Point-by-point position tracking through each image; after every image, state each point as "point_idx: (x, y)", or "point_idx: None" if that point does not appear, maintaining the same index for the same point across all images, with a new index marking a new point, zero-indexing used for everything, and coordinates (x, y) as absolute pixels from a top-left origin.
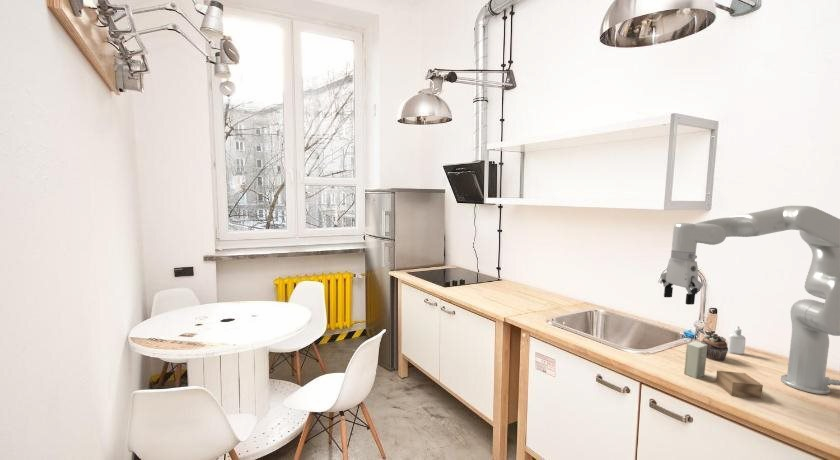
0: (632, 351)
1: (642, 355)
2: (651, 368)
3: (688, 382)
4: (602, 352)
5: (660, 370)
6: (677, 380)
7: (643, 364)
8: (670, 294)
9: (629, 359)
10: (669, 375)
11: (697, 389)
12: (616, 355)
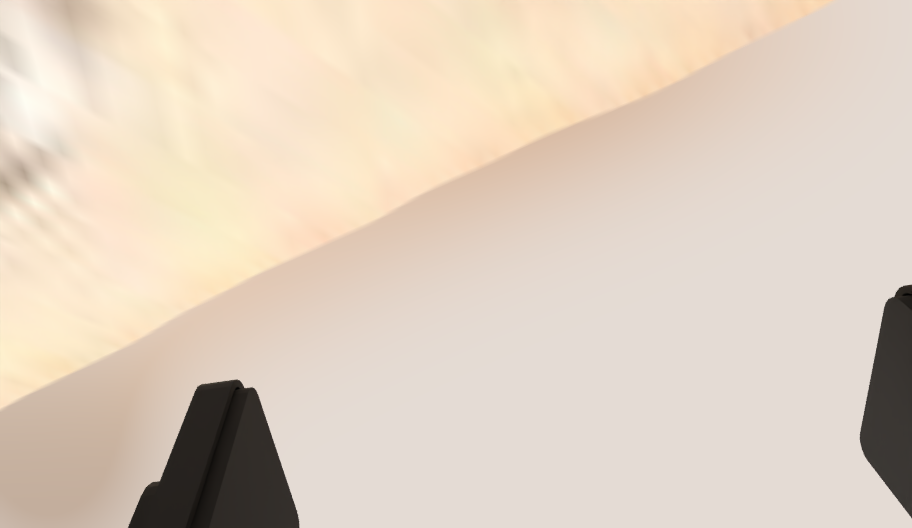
0: (48, 84)
1: (128, 47)
2: (389, 134)
3: (617, 10)
4: (134, 322)
5: (421, 87)
6: (581, 72)
7: (321, 151)
8: (257, 479)
9: (238, 202)
10: (503, 76)
11: (716, 25)
12: (174, 256)
